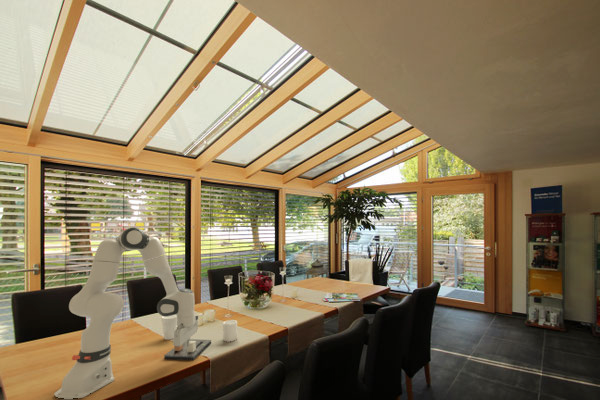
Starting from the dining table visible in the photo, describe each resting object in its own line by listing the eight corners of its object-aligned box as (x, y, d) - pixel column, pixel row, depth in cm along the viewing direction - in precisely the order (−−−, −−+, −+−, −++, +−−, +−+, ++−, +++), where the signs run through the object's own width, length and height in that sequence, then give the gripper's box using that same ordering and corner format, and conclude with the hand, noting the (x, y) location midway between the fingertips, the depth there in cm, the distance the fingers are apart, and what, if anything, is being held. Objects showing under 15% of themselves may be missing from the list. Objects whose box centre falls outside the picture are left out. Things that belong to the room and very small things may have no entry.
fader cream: (192, 353, 161) (192, 343, 162) (187, 353, 162) (187, 343, 162) (195, 351, 165) (195, 341, 165) (190, 350, 165) (190, 340, 165)
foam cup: (157, 339, 186) (158, 317, 187) (168, 334, 195) (168, 313, 196) (170, 341, 183) (171, 319, 184) (181, 335, 192) (181, 314, 193)
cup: (224, 342, 179) (224, 325, 180) (221, 336, 190) (221, 319, 191) (238, 340, 182) (238, 323, 183) (234, 333, 193) (234, 317, 194)
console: (193, 360, 157) (193, 356, 157) (164, 359, 159) (164, 355, 159) (211, 343, 178) (211, 339, 179) (185, 342, 180) (185, 339, 181)
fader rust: (179, 352, 163) (179, 342, 164) (174, 352, 164) (174, 342, 164) (182, 349, 167) (182, 339, 167) (177, 349, 167) (177, 339, 168)
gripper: (182, 328, 148) (182, 357, 147) (199, 314, 169) (200, 340, 168) (169, 327, 149) (169, 356, 148) (188, 314, 169) (189, 339, 168)
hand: (186, 347), depth 158 cm, fingers closed
